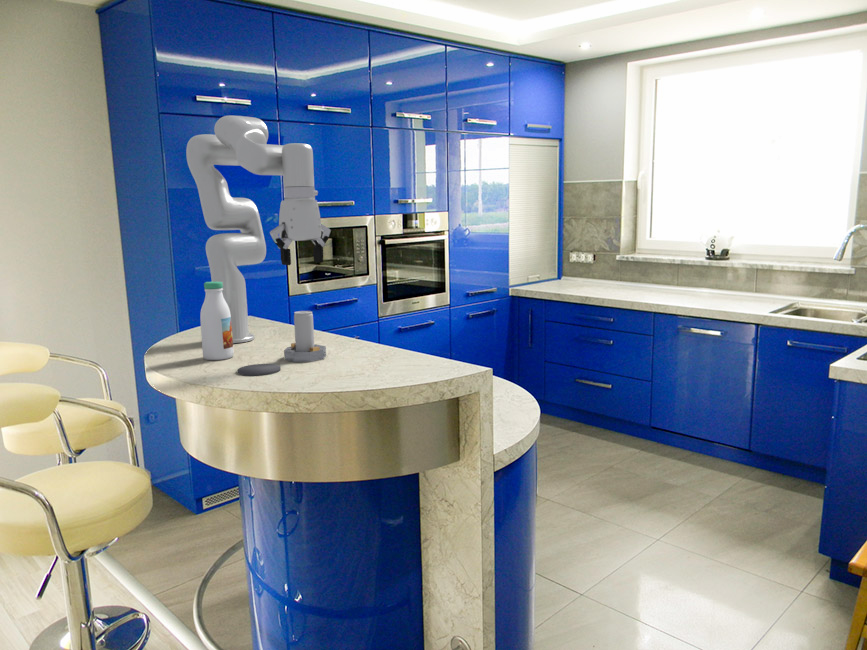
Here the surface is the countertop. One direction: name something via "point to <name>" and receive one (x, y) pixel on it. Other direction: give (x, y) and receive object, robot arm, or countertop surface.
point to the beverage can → (304, 330)
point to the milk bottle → (216, 324)
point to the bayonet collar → (305, 353)
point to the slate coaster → (258, 369)
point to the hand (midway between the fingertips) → (302, 263)
